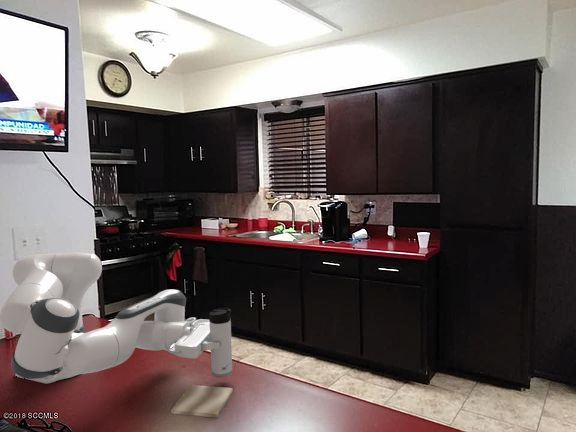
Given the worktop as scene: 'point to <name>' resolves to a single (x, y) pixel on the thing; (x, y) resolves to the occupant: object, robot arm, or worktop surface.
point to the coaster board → (202, 401)
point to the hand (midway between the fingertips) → (224, 339)
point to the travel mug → (222, 333)
